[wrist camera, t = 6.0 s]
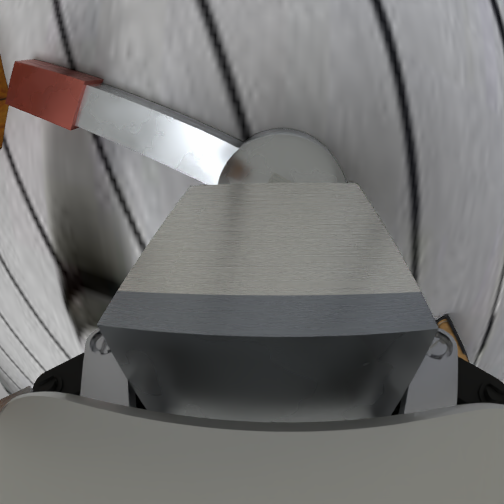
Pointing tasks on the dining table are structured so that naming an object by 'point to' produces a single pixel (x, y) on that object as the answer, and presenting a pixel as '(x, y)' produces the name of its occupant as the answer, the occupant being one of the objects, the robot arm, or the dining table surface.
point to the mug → (2, 102)
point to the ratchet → (168, 130)
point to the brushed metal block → (270, 308)
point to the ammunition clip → (448, 327)
